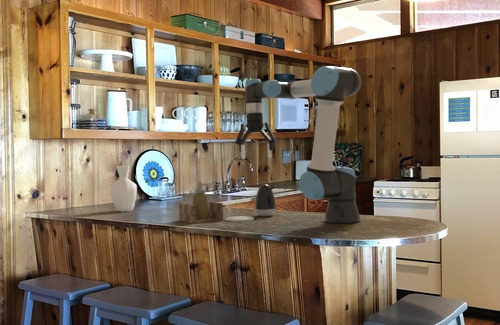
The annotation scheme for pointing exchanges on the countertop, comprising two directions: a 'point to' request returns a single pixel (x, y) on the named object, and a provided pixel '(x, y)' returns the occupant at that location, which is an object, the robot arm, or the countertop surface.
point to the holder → (189, 212)
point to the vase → (124, 191)
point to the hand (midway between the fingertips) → (256, 158)
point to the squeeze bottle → (201, 203)
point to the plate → (239, 219)
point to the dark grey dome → (265, 201)
